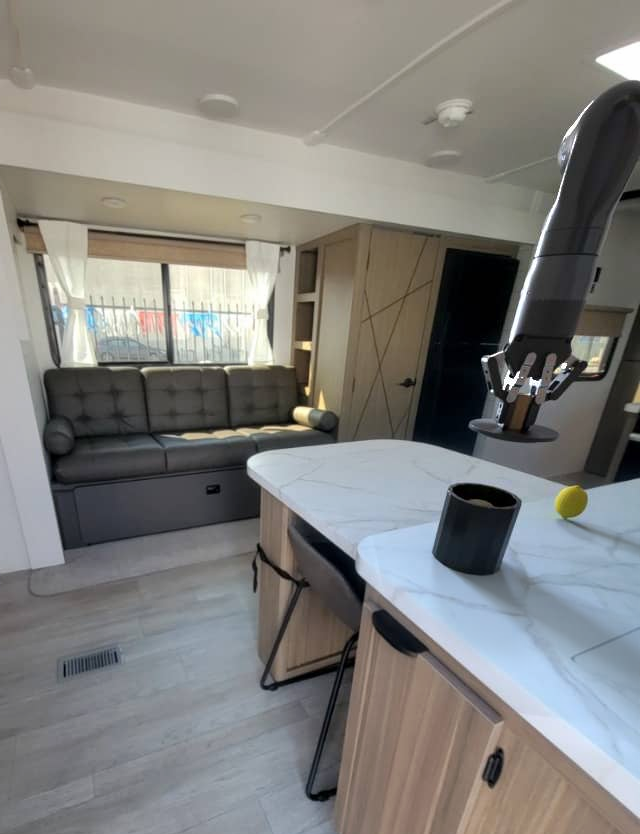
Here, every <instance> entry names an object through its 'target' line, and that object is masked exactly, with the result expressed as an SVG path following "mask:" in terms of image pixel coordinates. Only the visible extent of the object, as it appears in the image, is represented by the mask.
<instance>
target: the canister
mask: <svg viewBox="0 0 640 834" xmlns="http://www.w3.org/2000/svg"><path fill="white" fill-rule="evenodd" d="M471 499H478V500H483V501H486V502H489V503H491V504H492V505H493V506H494V507H490V506H484V505H480V504H475V503H472V502H469V501H468V500H471ZM522 501H523V500H522V499H521V498H520V497H518V495H516V494H515V493H512V492H510V491H508V490H506V489H504V488H500V487H497V486H494V485H489V484H483V483H477V482H456V483H454V484H450V485H449V486H448V487H447V491H446V495H445V499H444V501H443V502H444V504H443V507H442V509H441V514H440V518H439V522H438V526H437V531H436V534H435V539H434V543H433V546H432V550H431V553H432V555H433V557H434V559H435V560H437V562H439V563H440V564H441V565H443V566H445V567H447V568H448V569H450V570H453V571H455V572H458V573H462V574H465V575H470V576H479V577H484V576H491V575H494V574H496V573H498V572H499V571H500V569H501V567H502V563H503V560H504V557H505V554H506V551H507V548H508V546H509V542H510V540H511V537H512V534H513V531H514V528H515V525H516V522H517V521H518V516H519V514H520V510H521V508H522V505H523V503H522Z"/></svg>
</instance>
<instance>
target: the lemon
mask: <svg viewBox="0 0 640 834" xmlns="http://www.w3.org/2000/svg"><path fill="white" fill-rule="evenodd" d="M588 502H589V497H588V494H587V492H586V490H585V489H583V488H582V487H581V486H580V485H577V484H576V485H572V486H571V485H570V486H567V487H564V488H563V489H562V490H561V491H560V492H558V494H557V496H556V498H555V500H554V509H555V512H556V513H557V514H558V515H559V516H561V518H562V519H563V520H568V519H571V518H577V517H578V516H580V515H581V514H583V512H584V511H585V510H586V508H587V506H588Z"/></svg>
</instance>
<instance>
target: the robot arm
mask: <svg viewBox="0 0 640 834" xmlns="http://www.w3.org/2000/svg"><path fill="white" fill-rule="evenodd" d="M557 152H558V153H557V158H556V160H557V162H556V163H557V168H558V171H559V173H560V174H561V176H562V180H561V182H560V187H559V190H558V193H557V196H556V199H555V201H554V203H553V204H552V206H551V208H550V209H549V210H548V213H547V215H546V217H545V218H544V221H543V224H542V227H541V229H540V233H539V237H538V240H537V243H536V247H535V251H534V254H533V259H532V261H531V264H530V267H529V269H528V271H527V273H526V277H525V280H524V282H523V286H522V289H521V291H520V295H519V301H518V304H517V308H516V310H515V315H514V318H513V322H512V325H511V329H510V333H509V338H508V340H507V342H506V344H505V345H504V346H503V348H502V349H501V350H500V351H498V352H496V353H493V354H491V355H487V354H486V355H484V356H482V358H481V360H480V361H481V365H482V371H483V374H484V377H485V378H484V379H485V382H486V387H487V391H488V394H489V395H491V396H493V397H496V398H498V400H499V403H498V407H497V409H496V410H497V411H496V414H495V417H494V419H495V421H496V422H497V423H498V426H499V427H501V428H507V427H508V425H509V422H510V419H511V416H512V412H513V409H514V406H515V403H513V402H514V401H515V399H516V397H517V394H518V392H520V390H521V388H522V387H523V386H524V384H525V382H526V380H527V379H529V381H528V383H529V391H528V393H529V394H532V399H531V402H530V405H529V408H528V411H527V414H526V417H525V421H524V424H523V427H522V429H529V428H530V426H533V425H534V424H535V423H536V422H537V418H538V415H539V412H540V409H541V406H542V405H543V404H544V403H546V402H550V401H554V402H555V401H558V399H559V398H560V397H561V396H562V395H563V394H564V393H565V392H566V391H567V390H568V389H569V388H570V386H572V384H573V383H574V382H575V381H576V380H577V379H578V377H579V376H581V374H582V373H584V371H586V369H587V368H588V366H589V363H588V360H583V359H580V358H578V357H577V356H575V355H574V354H573V348H572V341H573V339H574V338H575V336H576V334H577V331H578V328H579V325H580V322H581V319H582V316H583V312H584V310H585V307H586V305H587V302H588V298H589V296H590V292H591V290H592V287H593V284H594V280H595V277H596V272H597V268H598V263H599V259H600V256H601V253H602V250H603V247H604V243H605V241H606V238H607V235H608V232H609V230H610V226H611V222H612V218H613V215H614V212H615V210H616V207H617V206H618V204H619V201H620V200H621V198H622V195H623V194H624V192H625V190H626V188H627V186H628V184H629V182H630V180H631V177H632V175H633V173H634V172H635V169H636V168H637V165H638V163H639V162H640V80H637V79H629V80H624V81H621V82H618V83H616V84H613V85H611V86H610V87H608V88H607V89H605V90H604V91H602V92H601V93H600V94H599V95H597V96H596V97H595V98H594V99H593V100H592V101H591V102H590V103H589V104H588V106H586V108H585V109H584V110H583V112H582V113H581V114H580V115H579V116H578V118H577V119H576V120H575V122H574V123H573V124H572V125H571V126H570V128H569V129H568V131H567V132H566V133H565V136H563V139H562V142H560V145H559V149H558V151H557ZM503 361H504V363H505V364H506V366H507V369H508V372H507V374H506V377H505V379H504V385H503V381H502V378H501V372H500V369H501V368H502V366H503ZM560 366H561V367H560ZM558 368H560V370H561V371H560V372H559V373H558V374H557V375H556V376H555V378H554V379H553V380H552V377H553V373H554V372H555V371H556V370H557V369H558Z"/></svg>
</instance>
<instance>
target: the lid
mask: <svg viewBox="0 0 640 834" xmlns="http://www.w3.org/2000/svg"><path fill="white" fill-rule="evenodd" d="M531 399H532V394H529V392H520V391H519V392H518V394H517V397H516V399H515V401H514V402H513V403H515V406H514V409H513V412H512V416H511V419H510V422H509V425H508V427H507V428H501V427H499V426H498V423H497V422H496V421H495V418H477V419H473V420H470V421H469V424H468V428H469V429H470V430H472V431H473V432H476V433H478V434H481V435H483V436H485V437H488V438H491V439H495V440H499V441H504V442H510V443H517V444H518V443H519V444H538V443H551V442H556V441H558V439H559V437H560V433H559V432H558V431H557V430H555V429H552V428H550V427H546V426H543V425H540V424H535V423H534V425H533V426H530V428H529V429H522V427H523V424H524V421H525V417H526V414H527V411H528V408H529V405H530V402H531Z"/></svg>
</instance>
